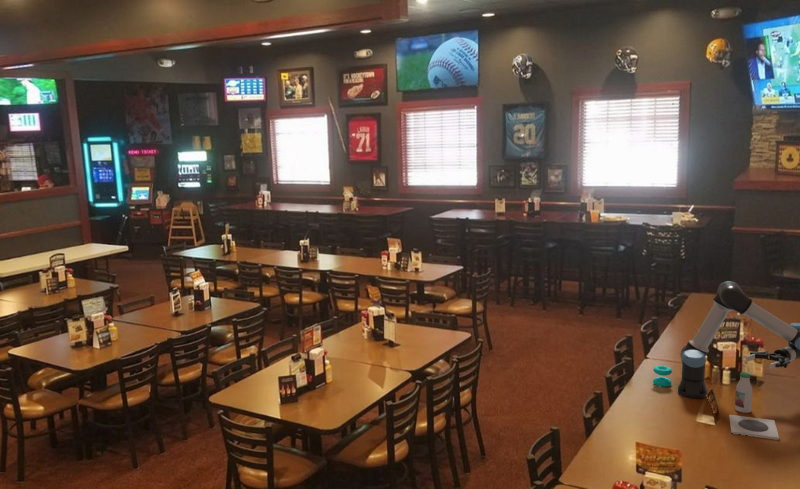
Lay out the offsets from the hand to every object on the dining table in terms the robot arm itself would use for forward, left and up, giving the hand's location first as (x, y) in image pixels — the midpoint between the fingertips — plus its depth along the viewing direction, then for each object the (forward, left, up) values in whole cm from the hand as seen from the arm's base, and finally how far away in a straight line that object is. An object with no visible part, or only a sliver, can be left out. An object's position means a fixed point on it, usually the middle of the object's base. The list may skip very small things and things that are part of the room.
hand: (758, 362), depth 343 cm
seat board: (-3, -28, -24) cm, 37 cm away
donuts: (-46, +17, -24) cm, 55 cm away
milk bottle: (-6, -7, -24) cm, 26 cm away
